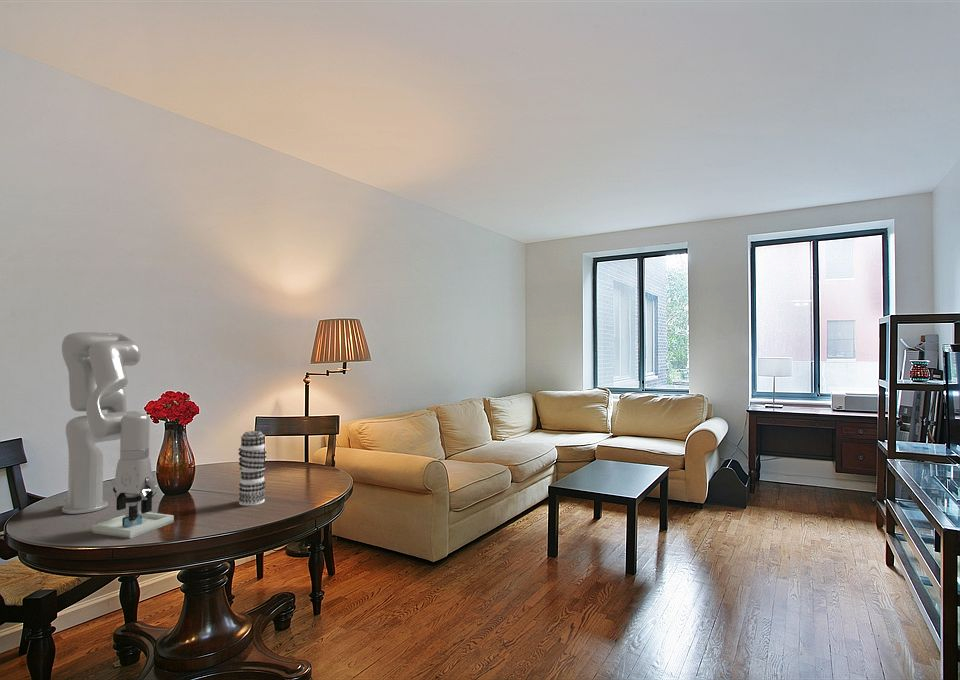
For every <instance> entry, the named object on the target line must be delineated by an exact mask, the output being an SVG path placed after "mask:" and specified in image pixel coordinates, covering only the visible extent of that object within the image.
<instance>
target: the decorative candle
mask: <svg viewBox="0 0 960 680" xmlns="http://www.w3.org/2000/svg"><path fill="white" fill-rule="evenodd" d="M265 437H266V435H265V434H263V432H262V431H260V430H250V431H245V432H244V433H243V434H242V435H241V436H240V439H241V440H240V442H241V444H240V447H239V448H238V451H239V452H238V456H239V458H238V460H239V462H238V465H239V466H240V467H239V471H240V479H239V481H240V483H239V489H238V490H239V491H240V492H239V493H238V496H239V497H238V500H239V502H238V503H239V504H238V505H241V506H246V507H247V506H249V507H250V506H257V505H261V504H263V503H264V502H265V501H266V499H265V498H266V495H265V493H266V491H265V488H266V486H265V484H266V481H265V476H264V473H265V472H264V470H266V465H265V464H266V463H267V461H265V459H266V458H267V456H266V454H267V451H265V447H266V446H265V445H266V444H265V442H264V441H265Z"/></svg>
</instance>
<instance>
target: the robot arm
mask: <svg viewBox="0 0 960 680" xmlns="http://www.w3.org/2000/svg"><path fill="white" fill-rule="evenodd" d="M61 354H62V357H63V360H64V363H65V365H66V369H67V373H68V384H69V385H68V389H69V390H68V391H69V402H70V404H69V405H70V406H71V409H72V410H73V411H75V412H82V413H83V412H84V413H86V415H80V416H76V417H73V418H72V419H69V420H68V422H66V425H65V436H66V443H67V448H68V489H67V493H68V494H67V495H66V496H64V497H62V502H66V505H65V506H63V507H62V510H61V511H62V513H64V514H69V515H75V514H77V515H78V514H86V513H92V512H96V511H100V510H104V509H105V508H106V507H108V505H109V502H108V501H107V500H104V496H103V492H104V491H103V490H104V488H103V487H104V455H103V453H102V450H100V449H99V448H98V447H97V445H96V444H97V443H103V442H110V441H116V440H120V442H119V444H120V447H119V449H120V451H119V457H120V458H119V459H118V461H117V464H116V470H115V477H114V479H113V480H112V481H111V482H110V483H111V486H112V490H113V492H114V497H115V498H116V506H115V508H116V511H122V510H124V509H125V510H126V503H124V501H123V498H122V497H123V496H125V495H126V493H128V494H139V493H140V495H141V497H142V500H141V501H140V511H141V513H143V514H144V513H147V512H150V513H151V512H152V509H153V504H152V503H153V498H154V497H155V496H156V494H157V491H158V488H159V485H158V484H157V483H156V482H154V480H153V474H152V472H153V471H152V464H151V463H152V462H151V459H150V425H151V424H150V423H151V422H150V419H151V418H150V417H149V415H148V414H146V413H140V411H136V410H133V411H132V410H130V411H127V398H126V397H127V395H126V392H125V388H126V387H127V385H128V383H129V379H128V376H127V372H126V369H125V367H130V366H136V365H137V364H138V363H139V362H140V360H141V355H142V354H141V349H140V348H139V346H138V344H137V343H136V342H135V341H134V340H133V339H131V338H129V337H128V336H126V335H124V334H123V333H122V334H121V333H119V332H118V333H117V332H94V331H93V332H92V331H91V332H90V331H88V332H87V331H85V332H84V331H83V332H82V331H81V332H79V331H78V332H73V333H70V334H69V333H68V334H67V335H66V336H64V338H63V341H62V343H61ZM103 411H106V412H105V413H103Z"/></svg>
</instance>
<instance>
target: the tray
mask: <svg viewBox="0 0 960 680" xmlns="http://www.w3.org/2000/svg"><path fill="white" fill-rule="evenodd" d="M125 515H126V514H123V515H121V516H117V517H113V518H110V519H108V520H104V521H101V522H98V523H95V524H92V525H91V534H98V535H105V536H111V537H118V538H125V539H133V538H135V537H138V536H140V535H143V534H146V533H149V532H151V531H155V530H156V529H159V528H162V527H165V526H167V525H171V524H173V523H174V521H175V519H174V518H175V516H174V515H173V514H167V513H166V514H164V513H158V512H157V513H156V512H151V511H150V512H147V513H144V514H143V513H141V510H140V514H139V515H141V516H142V518H144V517H147V518H144V519H142V521H143V520H147V521H144V522H142V524H140V525H136V526H131V527H127V528H125V527H123V526H122V519H123V517H125Z"/></svg>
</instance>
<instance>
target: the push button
mask: <svg viewBox="0 0 960 680" xmlns="http://www.w3.org/2000/svg"><path fill="white" fill-rule="evenodd" d="M122 498H123V501H124V503H126V508H125V514H124V515H125V517H123V519H122V526H123V527H125V528H127V527H131V526H136V525H140V524H142V522H144V521H147V520H143V521H142V519H144V518H147V517H144V518H142V516H141V515H139V514H140V511H141V500H143V498H142V497H141V495H140V493H139V494H128V493H126V494H125V496H123V497H122Z"/></svg>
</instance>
